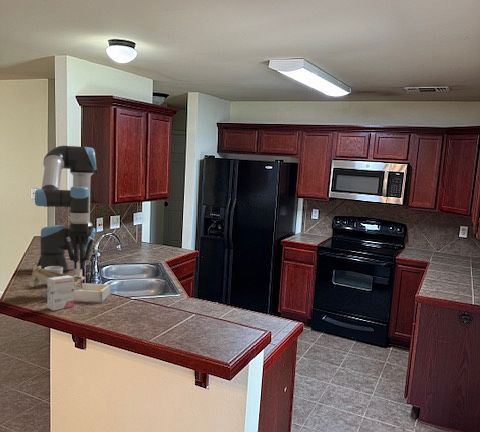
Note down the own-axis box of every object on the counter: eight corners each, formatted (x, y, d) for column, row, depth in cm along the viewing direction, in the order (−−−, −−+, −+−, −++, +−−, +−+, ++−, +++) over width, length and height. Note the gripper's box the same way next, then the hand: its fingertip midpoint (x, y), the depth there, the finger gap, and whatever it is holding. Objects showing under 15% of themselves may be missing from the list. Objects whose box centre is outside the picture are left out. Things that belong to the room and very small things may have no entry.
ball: (106, 293, 188) (99, 296, 188) (103, 286, 188) (96, 290, 188) (104, 295, 185) (97, 298, 185) (100, 288, 184) (93, 292, 185)
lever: (45, 277, 198) (49, 261, 198) (82, 288, 198) (86, 272, 198) (29, 286, 183) (33, 268, 183) (69, 297, 183) (73, 279, 183)
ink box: (68, 304, 176) (69, 274, 175) (74, 306, 173) (74, 276, 172) (46, 308, 170) (46, 277, 169) (52, 311, 167) (52, 279, 166)
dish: (82, 293, 192) (82, 283, 192) (110, 294, 192) (111, 284, 191) (71, 301, 180) (71, 290, 180) (101, 302, 180) (102, 291, 180)
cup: (52, 289, 197) (52, 271, 196) (36, 287, 198) (36, 269, 197) (66, 283, 207) (66, 266, 206) (50, 282, 209) (51, 265, 208)
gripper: (60, 222, 189) (60, 277, 191) (91, 223, 189) (91, 279, 190) (67, 221, 196) (67, 274, 198) (97, 222, 196) (96, 275, 198)
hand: (79, 276), depth 194 cm, fingers closed
